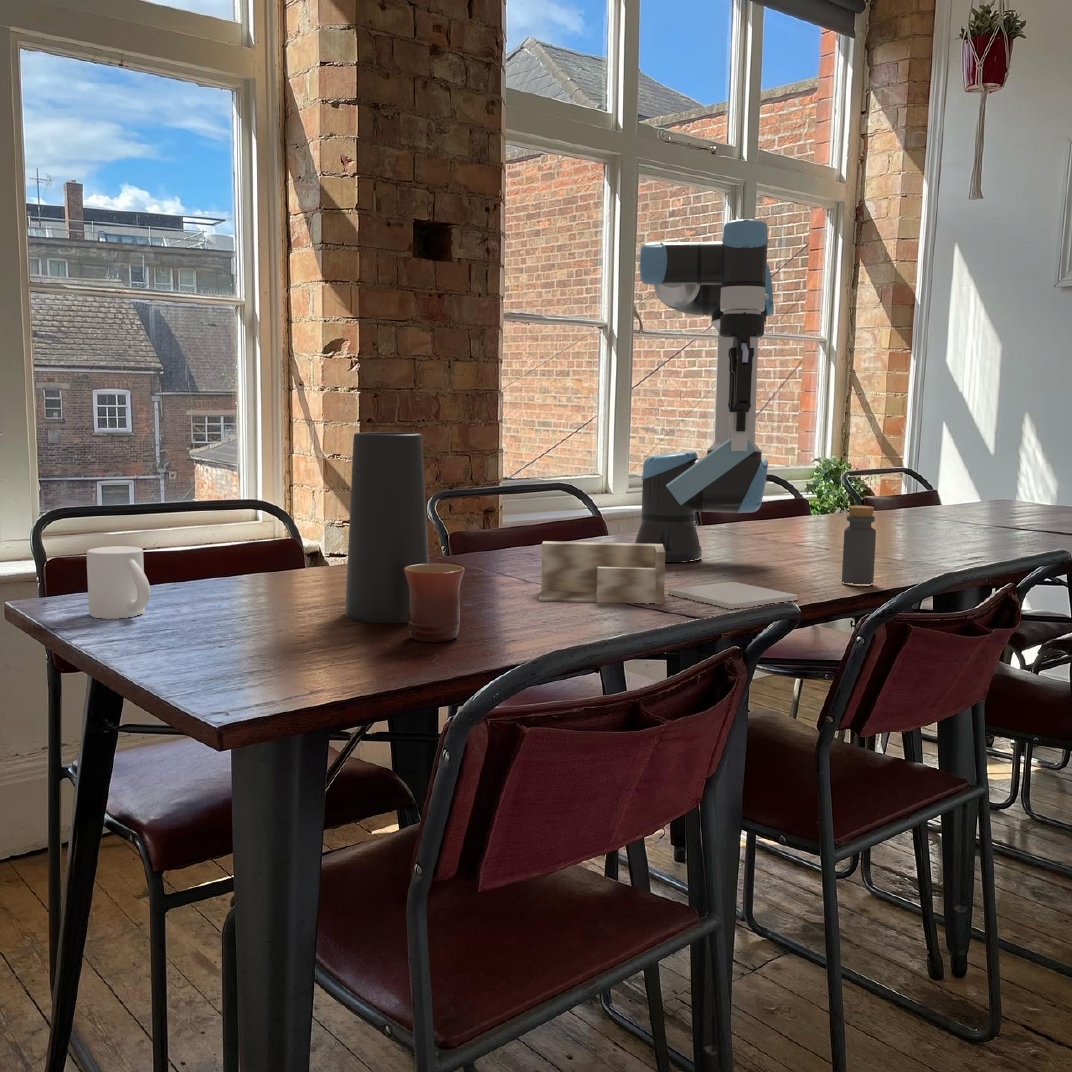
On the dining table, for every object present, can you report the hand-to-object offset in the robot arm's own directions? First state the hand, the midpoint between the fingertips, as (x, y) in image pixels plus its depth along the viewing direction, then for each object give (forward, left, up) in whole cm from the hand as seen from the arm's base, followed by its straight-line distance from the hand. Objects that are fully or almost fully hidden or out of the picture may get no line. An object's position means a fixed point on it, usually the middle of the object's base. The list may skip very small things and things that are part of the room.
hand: (737, 449), depth 188 cm
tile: (0, 0, -26) cm, 26 cm away
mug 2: (0, -60, -26) cm, 65 cm away
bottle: (+2, +31, -26) cm, 41 cm away
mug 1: (-37, -95, -26) cm, 105 cm away
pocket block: (-12, -20, -26) cm, 35 cm away
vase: (-17, -59, -26) cm, 67 cm away
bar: (-2, -3, -5) cm, 6 cm away
